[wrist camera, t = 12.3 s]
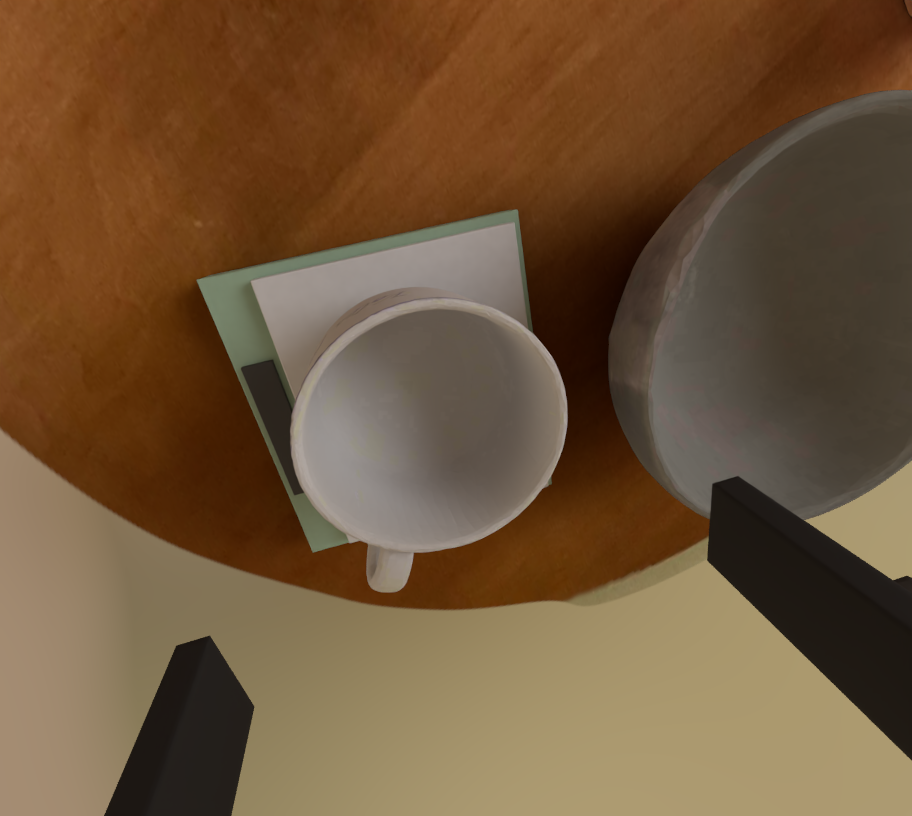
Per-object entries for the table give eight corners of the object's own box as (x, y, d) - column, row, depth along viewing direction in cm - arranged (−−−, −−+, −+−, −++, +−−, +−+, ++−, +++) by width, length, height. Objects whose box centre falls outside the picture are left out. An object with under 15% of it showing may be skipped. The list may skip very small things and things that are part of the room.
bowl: (747, 466, 35) (882, 551, 26) (512, 424, 30) (578, 514, 20) (895, 194, 29) (1144, 181, 19) (628, 76, 23) (801, -20, 14)
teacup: (364, 232, 21) (366, 238, 14) (547, 332, 25) (625, 379, 17) (259, 473, 24) (215, 579, 17) (432, 528, 28) (457, 636, 21)
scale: (315, 532, 30) (311, 561, 27) (208, 275, 23) (190, 282, 20) (541, 469, 31) (557, 490, 29) (506, 210, 24) (523, 208, 22)
